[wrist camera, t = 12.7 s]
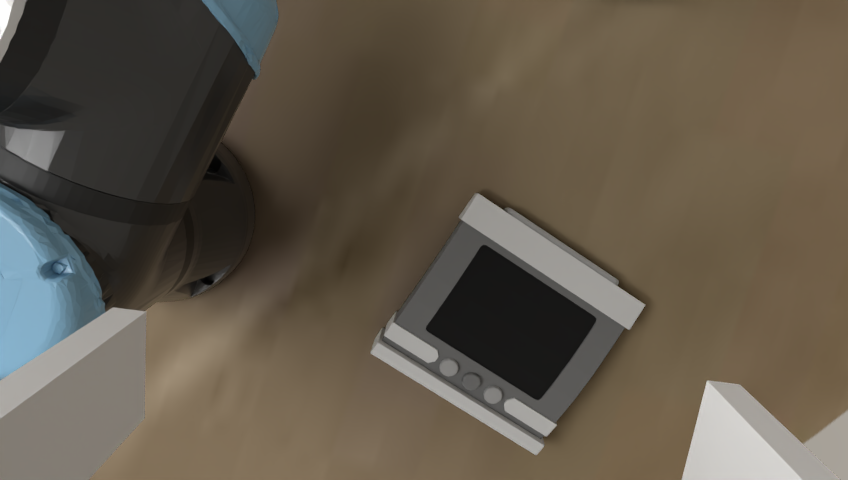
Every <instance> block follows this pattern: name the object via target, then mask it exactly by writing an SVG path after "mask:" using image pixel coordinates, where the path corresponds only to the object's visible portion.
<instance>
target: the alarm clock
mask: <svg viewBox="0 0 848 480" xmlns="http://www.w3.org/2000/svg"><path fill="white" fill-rule="evenodd" d="M459 218H460V219H461V221H460V222H459V224H458V225H457V227H456V228H455V230H454V231H453V233H452V234H451V236H450V237H449V239H448V241H447V242H446V244H445V245H444V246H443V248H442V249H441V251H440V252H439V254H438V255H437V257H436V258H435V260H434V261H433V263H432V264H431V266H430V267H429V269H428V270H427V271H426V273H425V274H424V276H423V277H422V279H421V280H420V282H419V283H418V284H417V286H416V287H415V289H414V290H413V292H412V293H411V294H410V296H409V297H408V299H407V300H406V301H405V303H404V304H403V306H402V307H401V308H400V310H399V311H398V312H397V311H396V312H395V313H394V315H393V316H392V317H391V319H390V320H389V322H388V323H387V326H386V329H385V328H383V327H382V329H381V330H380V332H379V333H378V335H377V336H376V337H375V340H374V343H373V346H372V350H371V354H372V355H374V356H376V357H377V358H379V359H381V360H382V361H384V362H385V363H387V364H389V365H390V366H392V367H394V368H395V369H397V370H398V371H400V372H402V373H403V374H405V375H407V376H408V377H410V378H411V379H413V380H415V381H416V382H418V383H420V384H421V385H423V386H424V387H426V388H428V389H429V390H431V391H433V392H434V393H436V394H437V395H439V396H441V397H442V398H444V399H446V400H447V401H449V402H450V403H452V404H454V405H455V406H457V407H458V408H460V409H462V410H463V411H465V412H467V413H468V414H470V415H471V416H473V417H475V418H476V419H478V420H480V421H481V422H483V423H484V424H486V425H488V426H489V427H491V428H493V429H494V430H496V431H497V432H499V433H501V434H502V435H504V436H506V437H507V438H509V439H510V440H512V441H514V442H515V443H517V444H519V445H520V446H522V447H523V448H525V449H527V450H528V451H530V452H531V453H533V454H535V455H537V454H538V453H539V452H540V450H541V449H542V448H543V447H544V441H543V436H546V437H547V436H548V435H549V434H550V432H551V431H552V430H553V429H554V428H555V427H556V426H557V423H556V421H557V420H558V419H559V418H560V416H561V415H562V414H563V413H564V412H565V410H566V409H567V408H568V407H569V406H570V404H571V403H572V402H573V401H574V400H575V398H576V397H577V396H578V394H579V393H580V392H581V390H582V389H583V388H584V386H585V385H586V384H587V382H588V381H589V380H590V378H591V377H592V376H593V374H594V373H595V371H596V370H597V368H598V367H599V366H600V364H601V363H602V361H603V360H604V358H605V357H606V355H607V354H608V353H609V351H610V350H611V348H612V346H613V345H614V343H615V342H616V340H617V339H618V337H619V336H620V334H621V333H622V331H623V330H624V328H627V329H628V330H630V328H631V327H632V325H633V324H634V322H635V321H636V319H637V318H638V316H639V314H640V313H641V311H642V310H643V308H644V307H645V304H643V303H642V302H640V301H639V300H637V299H636V298H634V297H633V296H631V295H630V294H628V293H627V292H625V291H624V290H622V289H621V288H619V287H618V286H617V285H618V283H619V281H618V280H617V279H616V278H615V277H613V276H612V275H610V274H609V273H607V272H606V271H604V270H603V269H601V268H600V267H598V266H597V265H595V264H594V263H592V262H591V261H589V260H588V259H586V258H585V257H583V256H582V255H580V254H579V253H577V252H576V251H574V250H573V249H571V248H570V247H568V246H567V245H565V244H564V243H562V242H561V241H559V240H558V239H556V238H555V237H553V236H552V235H550V234H549V233H547V232H546V231H544V230H543V229H541V228H540V227H538V226H537V225H535V224H534V223H532V222H531V221H529V220H528V219H526V218H525V217H523V216H522V215H520V214H519V213H517V212H516V211H514V210H513V209H511V208H505V209H504V210H502V209H501V208H499V207H498V206H496V205H495V204H493V203H492V202H490V201H489V200H487V199H486V198H484V197H483V196H481V195H480V194H478V193H475V194H474V195H473V197H472V198H471V200H470V201H469V203H468V204H467V205H466V207H465V208H464V210H463V211H462V213H461V214H460V216H459Z"/></svg>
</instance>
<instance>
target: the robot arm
mask: <svg viewBox="0 0 848 480" xmlns="http://www.w3.org/2000/svg"><path fill="white" fill-rule="evenodd" d="M277 22H278V8H277V3H276V0H0V480H89V479H90V478H91V477H92V475H93V474H94V473H95V472H96V471H97V470H98V469H99V468H100V467H101V466H102V464H103V463H104V462H105V461H106V460H107V459H108V458H109V457H110V456H111V455H112V453H113V452H114V451H115V450H116V449H117V448H118V447H119V446H120V445H121V444H122V442H123V441H124V440H125V439H126V438H127V437H128V436H129V435H130V434H131V433H132V432H133V430H134V429H135V428H136V427H137V426H138V425H139V424H140V423H141V422H142V421H143V419H144V418H145V356H146V311H145V310H147V309H148V308H149V307H151V306H152V305H153V304H155V303H156V302H171V301H179V300H184V299H188V298H191V297H194V296H197V295H199V294H201V293H203V292H206V291H207V290H209V289H211V288H212V287H214V286H215V285H217V284H218V283H219V282H220V281H222V280H223V279H224V278H225V277H226V276H228V275H229V274H230V273H231V272H232V271H233V270H234V269H235V268H236V267H237V265H238V264H239V263H240V261H241V260H242V258H243V257H244V255H245V253H246V251H247V249H248V247H249V244H250V242H251V239H252V235H253V230H254V222H255V208H254V200H253V195H252V191H251V188H250V185H249V182H248V180H247V177H246V175H245V173H244V171H243V169H242V168H241V166H240V165H239V163H238V161H237V160H236V159H235V157H234V156H233V155H232V154H231V153H230V151H229V150H228V149H227V148H226V147H225V146H224V145H223V144H222V143H221V141H222V139H223V137H224V135H225V133H226V131H227V129H228V127H229V125H230V123H231V121H232V119H233V116H234V114H235V112H236V110H237V108H238V106H239V104H240V102H241V100H242V98H243V96H244V94H245V92H246V90H247V88H248V86H249V84H250V82H251V80H252V79H254V80H256V79H257V78H258V76H259V75H260V63H261V60H262V58H263V56H264V54H265V51H266V49H267V47H268V45H269V42H270V40H271V38H272V36H273V33H274V31H275V29H276V26H277ZM682 480H840V479H839V478H838V477H837V476H836V475H835V474H834V473H833V472H832V471H831V470H830V469H829V468H828V467H827V466H826V465H825V464H824V463H822V462H821V461H820V460H819V459H818V458H817V457H816V456H815V455H814V454H813V453H812V452H811V451H810V450H809V449H807V447H805V446H804V445H803V444H802V443H801V442H800V441H799V440H798V439H797V438H796V437H795V436H794V435H793V434H792V433H791V432H790V431H789V430H787V429H786V428H785V427H784V426H783V425H782V424H781V423H780V422H779V421H778V420H777V419H776V418H775V417H774V416H773V415H772V414H770V413H769V412H768V411H767V410H766V409H765V408H764V407H763V406H762V405H761V404H760V403H759V402H758V401H757V400H756V399H755V398H754V397H752V396H751V395H750V394H749V393H748V392H747V391H746V390H745V389H744V388H743V387H742V386H741V385H740V384H733V383H725V382H716V381H708V380H707V383H706V387H705V391H704V395H703V399H702V402H701V406H700V410H699V414H698V418H697V422H696V426H695V430H694V434H693V438H692V442H691V446H690V450H689V453H688V457H687V461H686V465H685V469H684V473H683V477H682Z"/></svg>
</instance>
